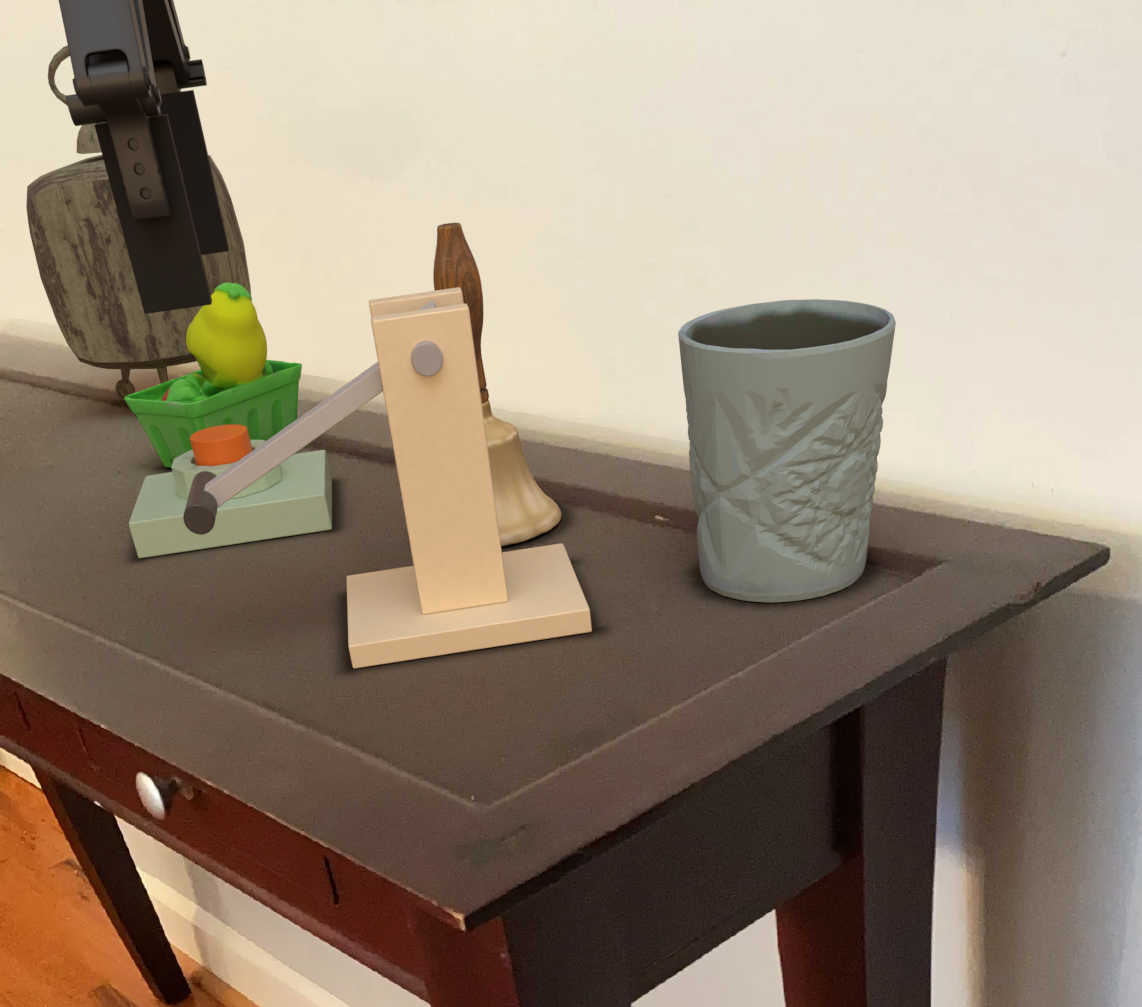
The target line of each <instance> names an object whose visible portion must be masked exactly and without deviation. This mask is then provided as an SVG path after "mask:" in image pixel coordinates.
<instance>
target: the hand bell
mask: <svg viewBox="0 0 1142 1007" xmlns="http://www.w3.org/2000/svg"><path fill="white" fill-rule="evenodd" d="M432 273H433V280H432V281H433V289H434V290H433V291H437V290H444V289H451V288H458V287H460V288H461V290H462V294H463V302H464V304H467V305H468V308H469V313H470V320H471V328H472V335H473V342H474V350H475V357H476V365H477V372H478V379H479V387H480V394H481V402H482V409H483V417H484V424H485V431H486V439H487V446H488V454H489V461H490V468H491V476H492V483H493V491H494V498H495V506H496V513H497V520H498V528H499V535H500V543H501V547H506V546H511V545H514V544H515V545H516V544H519V543H524V542H526V541H528V540H531V539H534V538H536V537H539V536H540V535H542V534H545V533H548V532H549V531H551V530H552V529H553V528H554V527H556V526H557V525H558V524H559V523H560V521H561V519H562V511H561V509H560V508H559V506H558V503H556V502H555V501H554V500H553V499H552V498H551V497H550V496H548V495H546V493H544V491H543V490H542V489H541V488H540V486H539V485H538V483H537V482H536V480H535V479H534V477H533V475H532V472H531V470H530V467H529V466H528V463H527V460H526V457H525V454H524V450H523V447H522V443H521V439H520V434H519V431H518V429H517V427H516V426H515V425H514V424H512V423H510V422H508V421H504V420H502V419H500V418H497V417H495V416H494V415H493V411H492V408H491V403H490V400H489V399H490V394H489V390H488V388H487V378H486V373H485V368H484V362H483V356H482V334H483V327H484V315H485V314H484V313H485V312H484V295H483V287H482V286H483V285H482V281H481V275H480V271H479V267H478V265H477V262H476V259H475V257H474V255H473V253H472V250H471V248H470V246H469V243H468V240H467V239H466V236H465V233H464V231H463V227H462V224H461V222H448V223H447V222H446V223H442V224H439V225H438V226H437V227H436V247H435V253H434V260H433V272H432Z"/></svg>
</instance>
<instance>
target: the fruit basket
mask: <svg viewBox="0 0 1142 1007" xmlns="http://www.w3.org/2000/svg"><path fill="white" fill-rule="evenodd" d="M211 298H212V303H211V305H205V306H203V307H202V308H201V309H200V311H199V312H198V313H197V315H196V316H195V318H194V319H193V321H192V323H191V324H190V325H189V327H188V330H187V333H186V344H187V350H188V351H189V352H190V353H191V354H193V355H194V356H195V357H196V359H197V361H196V362H197V364H198V366H199V368H200V369H199V370H195V371H192V372H190V373H188V374H184V375H182V376H178V377H176V378H173V379H170V380H168V381H167V382H164V383H159V384H157V385H154V386H150V387H147V388H144V389H143V390H139V391H135V393H133V394H130V395H127V396H126V397H125V398H124V399H123V400H124V401H125V403H126V404H127V407H128V408H129V409H130V411H131V412H132V413H133V414H134V415H135V416H136V418H137V421H138V422H139V424H140V425H141V427H142V429H143V431H144V432H145V435H146V436H147V438H148V440H149V442H150V443H151V445H152V447H153V449H154V451H155V452H156V454H157V456H158V458H159V460H160V462H161V463H162V465H163V467H165V468H171V466H172V463H173V460H174V459H175V458H177V457H179V456H181V455H182V454H184V453H186V452H188V451H191V450H192V446H191V442H190V436H191V435H192V434H194V433H196V432H198V431H200V430H203V429H206V428H210V427H214V426H220V425H230V424H236V425H243V426H246V427H247V429H248V433H249V437H250V440H264V441H267V440H268V439H270V438H271V437H273V436H274V435H275V434H277V433H278V432H280V431H281V430H282V429H284V428H285V427H287V426H288V425H290V424H291V423H292V422H294V421H295V420H297V419H298V407H299V406H298V405H299V389H300V388H299V387H300V386H299V385H300V380H301V376H302V369H303V368H302V367H303V364H302V363H299V362H288V361H283V360H275V359H273V360H271V359H268V358H267V357H268V343H267V336H266V333H265V331H264V328H263V326H262V324H261V322H260V320H259V318H258V312H257V310H256V307H255V305H254V303H253V297H252V294H251V295H250V293H249V292H248V291H247V290H246V289H245V288H244V287H243V286H242V285H240V284H237V283H233V284H232V283H223V284H221V285H219V286H218V287H216V288H215V290H214V293H213V294H212V295H211Z"/></svg>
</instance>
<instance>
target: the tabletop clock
mask: <svg viewBox="0 0 1142 1007" xmlns="http://www.w3.org/2000/svg"><path fill="white" fill-rule="evenodd" d="M69 57H70V54H69V49H68V45H64V46H63V47H62V48H60V49H59V50H57V52H56V53H55V54H54V55H53V57H52V58H51V60H50V62H49V64H48V69H47V81H48V86H49V88H50V90H51V92H52V93H53V94H54V97H56V99H58V100H59V101H60V102H61V103H62V104H64V105H65V106H67V107H68V105H67V101H66V95H67V94H64V93H63V92H61V91H60V89H59V88H58V86H57V83H56V81H55V80H56V79H55V78H56V77H55V76H56V73H57V70H58V68H59V66H61V63H62V62H64V61H65V60H66V59H68V58H69ZM103 123H104V122H103ZM95 124H97V123H95ZM95 124H88V125H80V128H79V130H78V132H77V137H76V154H81V155H89V154H99V153H101V154H99V155H95V156H91V157H87V158H84V159H81V160H78V161H76V162H73V163H70V164H68V165H65V166H62V167H59V168H56V169H54V170H51V171H48V172H47V173H44V174H42V175H40V176H39V177H37V178H36V179H34V180H33V181H32V182H30V184H28V185H26V186H27V187H26V205H25V206H26V208H25V209H26V215H27V224H28V231H29V235H30V236H29V237H30V239H31V244H32V249H33V252H34V256H35V261H36V265H37V268H38V273H39V278H40V281H41V283H42V285H43V288H44V291H45V295H46V297H47V299H48V302H49V306H50V307H51V310H52V313H53V315H54V318H55V321H56V324H57V326H58V328H59V329H60V332H61V334H62V336H63V338H64V340H65V342H66V344H67V346H68V347H69V348H70V350H71V351H72V353H73V354H74V355H75V357H76V358H77V360H78V361H79V363H83V364H86V365H88V366H91V367H94V368H99V369H105V370H120V374H121V379H119V380H117V382H116V383H115V386H114V387H115V388H114V389H115V393H116V394H117V395H118V397H119V398H120V399H122V400H124V398H125V397H126V396H127V395H130V394H133V393H136V386H135V385H134V384H133V383H132V381H131V380H130V373H131V370H156V372H157V375H158V379H159V382H160V383H159V384H161V383H164V382H167V381H169V376H168V375H169V374H168V367H174V366H181V365H186V364H191V363H196V362H197V359H196V357H195V356H194V355H193V354H191V353H190V352H189V351H188V350H187V344H186V333H187V330H188V327H189V325H190V324H191V323H192V321H193V319H194V318H195V316H196V315H197V313H198V312H199V311H200V309H201V308H202V307H203V306H198V307H191V308H184V309H177V310H170V311H163V312H156V313H148V314H144V310H143V306H142V302H141V299H140V295H139V291H138V287H137V284H136V280H135V276H134V272H133V269H132V265H131V261H130V257H129V254H128V250H127V246H126V242H125V238H124V235H123V231H122V227H121V223H120V220H119V216H118V212H117V208H116V205H115V201H114V197H113V193H112V190H111V186H110V182H109V178H108V174H107V171H106V167H105V163H104V159H103V156H102V152H101V148H100V144H99V141H98V137H97V133H96V129H95V126H94V125H95ZM208 157H209V161H210V165H211V170H212V174H213V179H214V183H215V188H216V192H217V196H218V201H219V205H220V210H221V214H222V219H223V223H224V227H225V232H226V236H227V241H228V245H229V251H227V252H220V253H213V254H205V255H201V256H202V260H203V264H204V269H205V273H206V277H207V281H208V286H209V290H210V294H211V295H212V294H213V293H214V290H215V288H216V287H218V286H219V285H221V284H223V283H232V284H233V283H237V284H240V285H242V286H243V287H244V288H245V289H246V290H247V291H248V292H249V293H250V295H251V296H252V288H251V280H250V273H249V268H248V262H247V261H248V260H247V255H246V249H245V243H244V238H243V235H242V231H241V228H240V225H239V224H240V223H239V221H238V218H237V214H236V211H235V207H234V204H233V201H232V198H231V194H230V191H229V189H228V187H227V184H226V182H225V180H224V177H223V175H222V173H221V170H220V169H219V168H218V166H217V164H216V163H215V161H214V159H213V158H212V155H210V154H208Z"/></svg>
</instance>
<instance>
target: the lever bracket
mask: <svg viewBox="0 0 1142 1007" xmlns="http://www.w3.org/2000/svg"><path fill="white" fill-rule="evenodd" d="M432 300H433V301H434V303H435V304H436V306H437V308H430V309H423V310H419V309H420V308H422V307H423V306H425V305H426V304H427V303H429V302H430V301H432ZM368 306H369V313H370V324H371V329H372V335H373V341H374V347H375V352H376V357H377V359H376V360H377V362H378V364H379V370H380V376H381V381H382V387H383V398H384V399H383V400H384V404H385V409H386V416H387V421H388V427H389V432H390V438H391V439H390V440H391V444H392V450H393V456H394V461H395V466H396V472H397V479H398V484H399V489H400V495H401V500H402V506H403V512H404V518H405V523H406V530H407V534H408V540H409V541H408V542H409V547H410V552H411V558H412V563H413V565H409V566H403V567H396V568H390V569H383V570H376V571H369V572H362V573H357V574H350V575H349V574H348V575H346V578H345V579H346V607H347V608H346V609H347V610H346V611H347V643H348V644H347V646H348V647H347V648H348V652H349V656H350V662H351V666H352V668H353V669H361V668H367V667H373V666H379V665H387V664H393V663H399V662H405V661H412V660H418V659H425V658H431V657H437V656H445V655H451V654H457V653H463V652H471V651H477V650H483V649H489V648H494V647H496V648H497V647H501V646H508V645H514V644H515V645H516V644H521V643H528V642H535V641H541V640H547V639H555V638H560V637H567V636H573V635H579V634H587V633H592V632H593V626H592V617H591V616H592V615H591V609H590V607H589V606H590V605H589V603H588V601H587V599H586V596H585V594H584V591H583V589H582V587H581V585H580V582H579V580H578V577H577V575H576V572H575V570H574V568H573V565H572V562H571V560H570V557H569V555H568V552H567V550H566V547H565V545H564V543H561V542H559V543H554V544H549V545H547V544H546V545H541V546H533V547H528V548H523V549H522V548H521V549H515V550H507V551H502V546H501V543H500V535H499V528H498V520H497V513H496V506H495V498H494V491H493V483H492V476H491V468H490V461H489V454H488V446H487V439H486V431H485V424H484V417H483V409H482V402H481V394H480V387H479V379H478V372H477V365H476V357H475V350H474V342H473V335H472V328H471V320H470V313H469V308H468V305H467V304H464V302H463V294H462V290H461V288H460V287H458V288H451V289H444V290H437V291H434V290H430V291H424V292H417V293H409V294H403V295H396V296H387V297H381V298H374V299H373V298H372V299H369V300H368Z"/></svg>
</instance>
